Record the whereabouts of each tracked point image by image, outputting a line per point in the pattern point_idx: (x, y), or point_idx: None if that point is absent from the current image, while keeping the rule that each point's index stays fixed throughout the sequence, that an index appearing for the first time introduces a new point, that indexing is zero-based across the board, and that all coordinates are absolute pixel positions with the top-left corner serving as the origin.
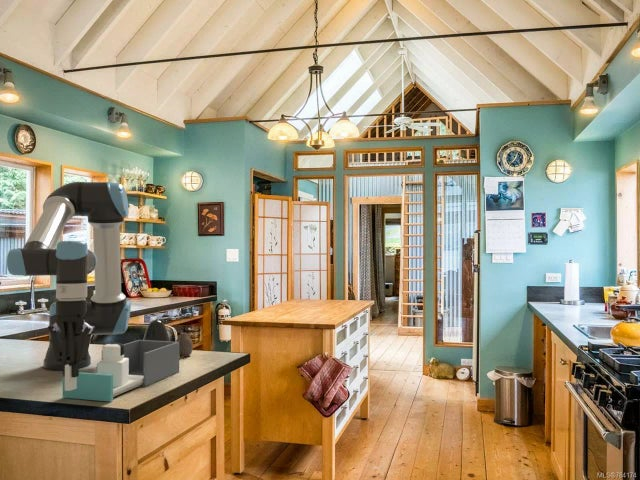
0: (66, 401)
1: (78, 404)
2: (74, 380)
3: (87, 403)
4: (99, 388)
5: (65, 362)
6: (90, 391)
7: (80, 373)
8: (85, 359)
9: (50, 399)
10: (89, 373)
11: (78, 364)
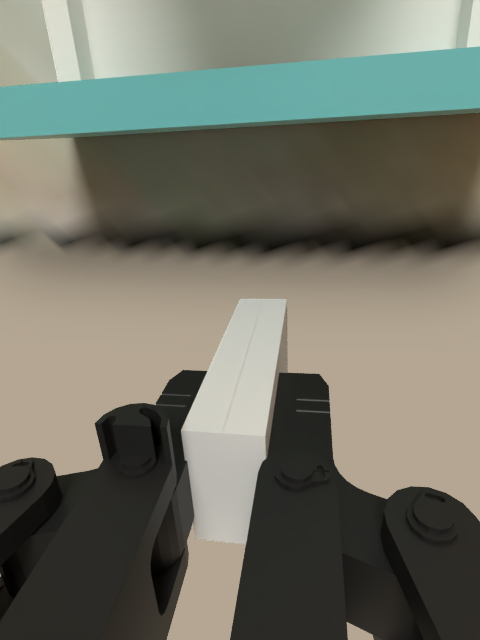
0: (159, 195)
1: (284, 230)
2: (281, 357)
3: (329, 191)
4: (409, 115)
5: (186, 569)
6: (304, 122)
7: (148, 127)
8: (477, 539)
9: (32, 188)
10: (260, 90)
11: (337, 484)
